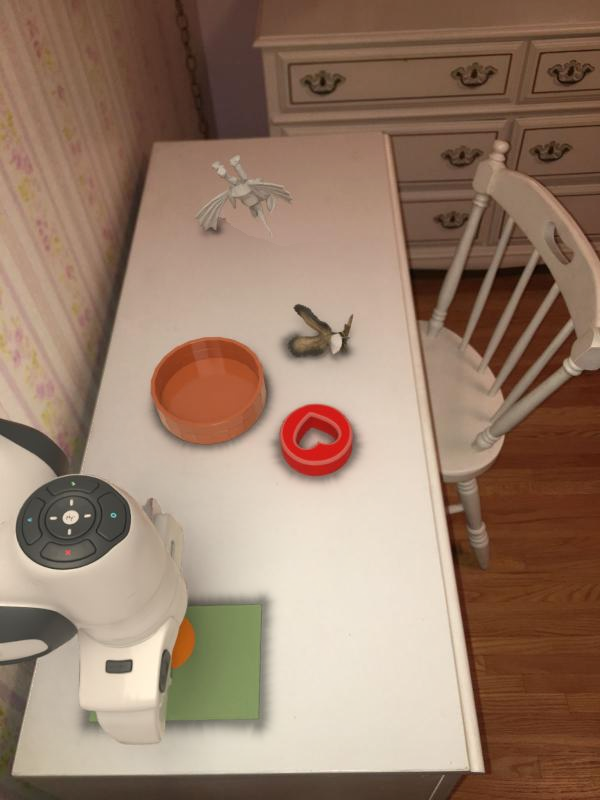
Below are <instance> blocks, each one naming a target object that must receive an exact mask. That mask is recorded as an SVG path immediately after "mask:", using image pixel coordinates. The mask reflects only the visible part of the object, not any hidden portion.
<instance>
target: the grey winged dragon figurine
mask: <svg viewBox="0 0 600 800" xmlns="http://www.w3.org/2000/svg"><path fill="white" fill-rule="evenodd" d="M241 159H242V157H241V156H240V154H237V155H235V156H234V157H231V159H229V163H230V167H232V168H233V170H234V171H235V173H236V174H237V176H238V177H239V178H240V180H239V179H238V178H237V177H236V176H235V175H232V176H230V174H228V171H227V170H226V169H225V166H224V165H223V164H221V162H220V161H219V160H217V161H215V162H213V163H212V165H211V167H210V168H211V169H212V170H215V171H216V173H217V175H218V176H219V178H220V179H224V180H225V181H226V182H227V183H228V184H229V185H230V186H229V188H228V189H226V190H224V191H222V192H221V193H219V194H217V195H216V196H214V197H213V198H212V199H211V200H210V201H209V202H207V203H206V204H205V205H204V206H203V207H201V209H200V210H199V211H198V213H197V214H196V215H195V216H194V219H195V220H197V221H198V226H203V228H204V229H205V231H207V230H208V229H210V228H212V229H213V230H214V231H217V228H218V221H219V219H220V215H221V210H222V209H223V207H224V206H225V203H226V202H227V200H229V202H230V204H231V205H232V208H233V209H235V210H236V209H237V199H238V200H240V202H241V203H242V205H244V206H245V207H248V209H249V211H250V214H251V216H252V218H253V219H254V220H256V221H258V222H259V221H260V220H259V217H260V219H261V221H262V222H263V224H264V226H265V228H266V229H267V230H268V233H269V235H270V237H271V239H273V238H274V232H273V231H272V229H271V228H270V226H269V225H268V222H267V217H266V215H265V211H264V208H263V205H262V203H261V202H264V201H265V204H266V205H265V206H266V208H267V210H268V212H269V217H271V216H272V214H273V212H274V211H275V209H276V207H277V201H278V199H280V200H282V201H284V203H285V202H286V203H287V204H290V205H292V206H293V205H294V204H293V202H292V201H295V199H294V198H293V197H292V196H291V195H292V193H291V192H289V191H288V190H286V189H284V188H285V186H284V185H282V184H276V183H272V182H265V181H264V178H263V177H256V178H255V179H254V178H252V179H248V178H249V175H247V173H246V171H245V170H244V168H243V166H242V165H241V163H242V162H243V161H242V160H241ZM272 196H273V197H275V198H272Z"/></svg>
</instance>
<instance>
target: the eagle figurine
mask: <svg viewBox="0 0 600 800" xmlns="http://www.w3.org/2000/svg"><path fill="white" fill-rule="evenodd" d="M292 308H293V310H294V312H295V313H296V315H298V316H299V317H300V318H301V319H302V320H303V322H304V323H305V324H306V325H307V326H308V327H309V328H311V329H312V330H314V331H316V332H317V333H318V335H311V336H310V335H299V334H298V335H297V334H296V335H294V336H293V337H291V339H289V340H288V343H286V344H287V348H288V349H289V352H290V353H291V354H292V355H293V356H296V357H301V356H304V357H305V356H313V357H314V356H315V357H317V356H320V355H323V354H324V353H325V351H326V349H328V347H329V348H330V351H331V353H332V355H335V354H337V353H338V352H340V350H342V351H343V353H345V352H346V351H347V348H348V343H347V342H348V340H349V339H350V336H349V334H350V333H351V332H350V331H351V329H352V328H351V327H352V324H353V323H352V322H353V319H354V313H351V314H350V316H349V318H348V321H347V323H344V326H343V330H342V331H338V332H337V331H336V332H335V331H333V329H332V327H331V326H330V325H329V324H328V322H326V321H322V320H321V319H319V317H318V316H317V315H316V314H315V313H314V312H313V310H312V308H309V307H308V306H306V305H304V304H300V303H297V304H296V303H295V305H293V307H292Z"/></svg>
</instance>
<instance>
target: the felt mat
mask: <svg viewBox="0 0 600 800" xmlns="http://www.w3.org/2000/svg"><path fill="white" fill-rule="evenodd" d="M262 607H263V606H262V604H231V605H230V604H228V605H227V604H225V605H224V604H223V605H187V609H186V612H185V616H184V617H185V618H186V619H187V620H188V621H189V622H190V623H191V625H192V627H193V630H194V634H195V645H194V648H193V651H192V653H191V655H190V657H189V658H188V659H187V661H185V662H184V663H183V664H182V665H181V666H179V667H177V668H175V669H173V676H172V684H171V685H169V690H168V700H167V710H166V720H165V722H167V721H168V722H169V721H212V720H213V721H217V720H218V721H219V720H220V721H222V720H226V721H227V720H259V715H260V713H259V712H260V681H261V680H260V679H261V678H260V677H261V676H260V675H261V642H262V641H261V637H262ZM88 722H89V723H99V722H98V719H97V716H96V711H89V716H88Z"/></svg>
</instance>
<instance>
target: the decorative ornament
mask: <svg viewBox="0 0 600 800" xmlns="http://www.w3.org/2000/svg"><path fill="white" fill-rule="evenodd" d="M310 429H315V430H318V431H321V432H324V433H326V434H327V435H329V436H331V437H332V438H333V439H334V442H330V443H325V442H321V441H320V440H318V441H317V443H316V444H315V445H314V446H311V447H309V448H304V447H301V446H300V445H299V444H300V442H301V440H302V439H303V437H304V436H305V435H306V434H307V432H309V430H310ZM353 434H354V433H353V426H352V424H351V421H349V419H348V418H347V416H346V415H345V414H344V413H343V412H342V411H340V410H339V409H338V408H335V407H333V406H332V405H327V404H323V403H309V404H304V405H302V406H299V407H298V408H296V409H294V410H292V411H291V412H290V413H289V414H288V415H287V416H286V417H285V418H284V420H283V421H282V424H281V425H280V430H279V443H280V449H281V453H282V456H283V458H284V460H285V462H286V463H287V464H288V465H289V467H290V468H292V469H293V470H294V471H296V472H298V473H299V474H302V475H305V476H311V477H318V476H319V477H321V476H326V475H329V474H330V475H331V474H333V473H335V472H337V471H338V470H340V469H342V468H343V466H345V464H346V463H347V462H348V461H349V460H350V458H351V455H352V451H353V441H354V440H353V439H354V437H353Z"/></svg>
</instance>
